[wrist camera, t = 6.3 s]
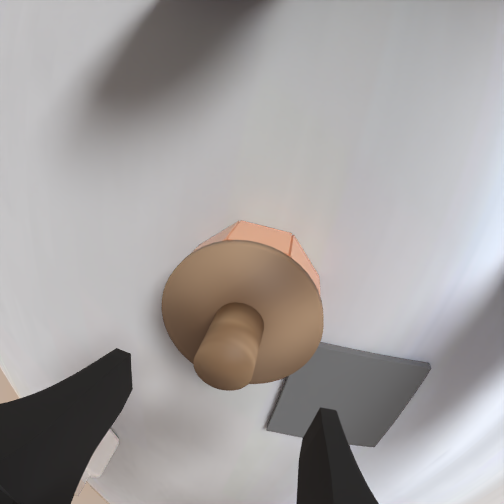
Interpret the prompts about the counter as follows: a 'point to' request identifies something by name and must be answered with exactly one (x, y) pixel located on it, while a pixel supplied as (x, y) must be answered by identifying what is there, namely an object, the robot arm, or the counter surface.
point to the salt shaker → (99, 459)
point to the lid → (242, 313)
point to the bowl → (268, 243)
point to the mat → (348, 392)
